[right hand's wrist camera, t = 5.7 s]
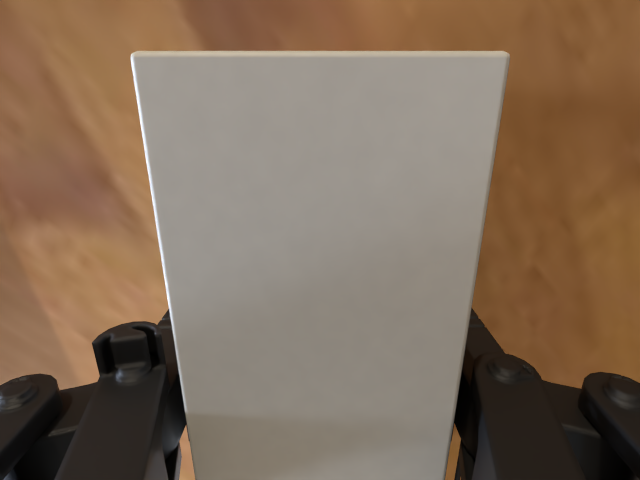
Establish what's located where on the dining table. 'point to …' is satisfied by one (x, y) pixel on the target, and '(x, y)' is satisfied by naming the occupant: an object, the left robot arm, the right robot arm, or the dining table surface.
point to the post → (320, 250)
